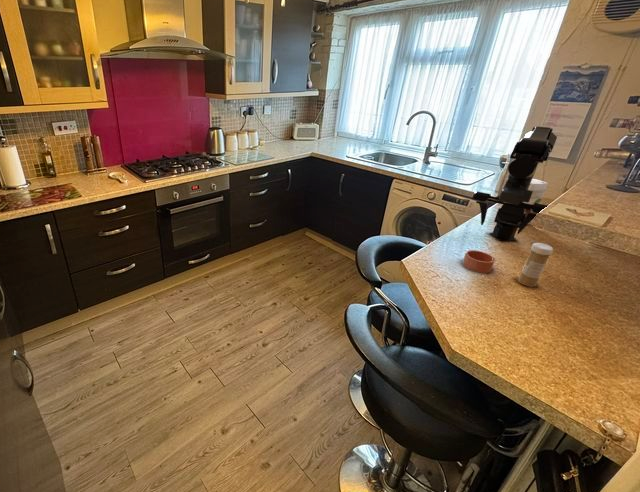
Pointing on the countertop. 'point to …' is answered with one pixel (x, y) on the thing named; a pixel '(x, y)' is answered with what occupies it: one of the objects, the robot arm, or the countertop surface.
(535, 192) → the juice carton
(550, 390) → the countertop surface
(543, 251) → the sprinkles bottle
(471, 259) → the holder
